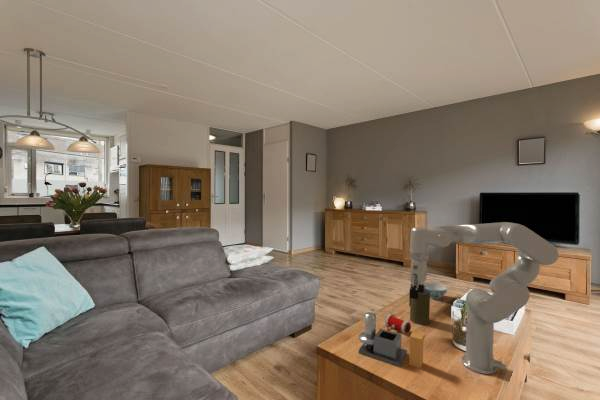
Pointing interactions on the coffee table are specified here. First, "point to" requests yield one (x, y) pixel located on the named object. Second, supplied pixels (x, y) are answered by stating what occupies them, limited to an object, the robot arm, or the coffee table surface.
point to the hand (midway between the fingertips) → (416, 295)
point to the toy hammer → (397, 324)
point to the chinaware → (436, 290)
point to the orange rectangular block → (416, 350)
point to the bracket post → (381, 343)
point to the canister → (420, 308)
